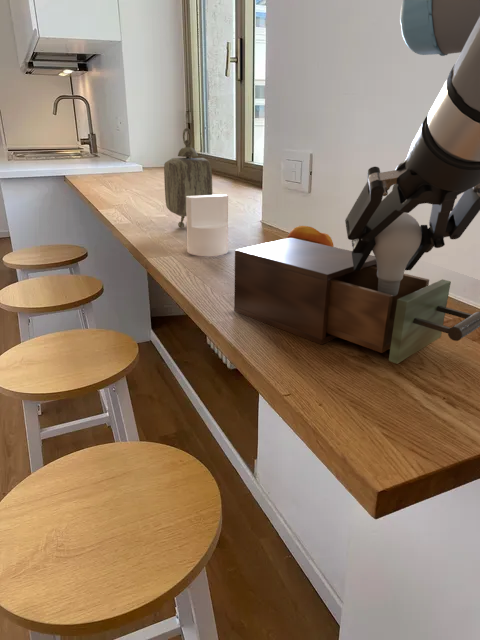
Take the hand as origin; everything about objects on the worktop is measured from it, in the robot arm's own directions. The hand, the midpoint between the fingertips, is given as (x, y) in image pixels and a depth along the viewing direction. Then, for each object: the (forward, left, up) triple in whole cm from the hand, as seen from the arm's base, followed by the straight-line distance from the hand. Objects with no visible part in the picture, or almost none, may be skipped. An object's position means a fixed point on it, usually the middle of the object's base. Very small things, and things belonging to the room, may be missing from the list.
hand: (381, 261), depth 65 cm
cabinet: (+11, +2, -10) cm, 15 cm away
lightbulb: (-3, +2, -4) cm, 5 cm away
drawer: (-3, +2, -9) cm, 10 cm away
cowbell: (+73, -26, -10) cm, 78 cm away
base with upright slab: (+50, -13, -10) cm, 52 cm away
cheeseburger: (+25, -16, -10) cm, 31 cm away
